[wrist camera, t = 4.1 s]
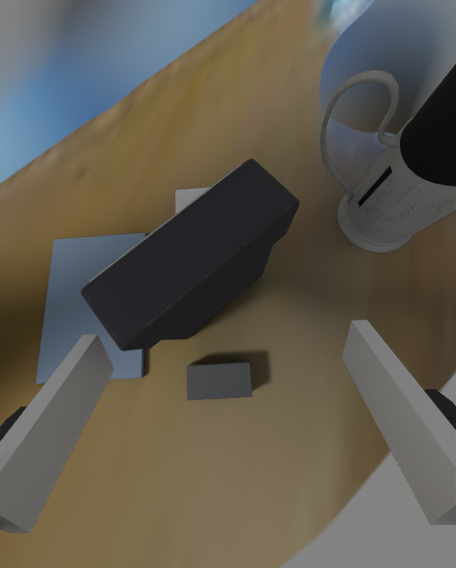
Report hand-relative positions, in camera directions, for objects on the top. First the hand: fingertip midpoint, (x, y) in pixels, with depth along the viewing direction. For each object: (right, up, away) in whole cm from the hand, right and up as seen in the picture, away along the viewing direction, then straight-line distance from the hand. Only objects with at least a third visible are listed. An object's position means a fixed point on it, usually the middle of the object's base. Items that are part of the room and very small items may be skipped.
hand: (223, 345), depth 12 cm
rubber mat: (-15, +1, +13) cm, 20 cm away
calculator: (-1, +2, +13) cm, 13 cm away
